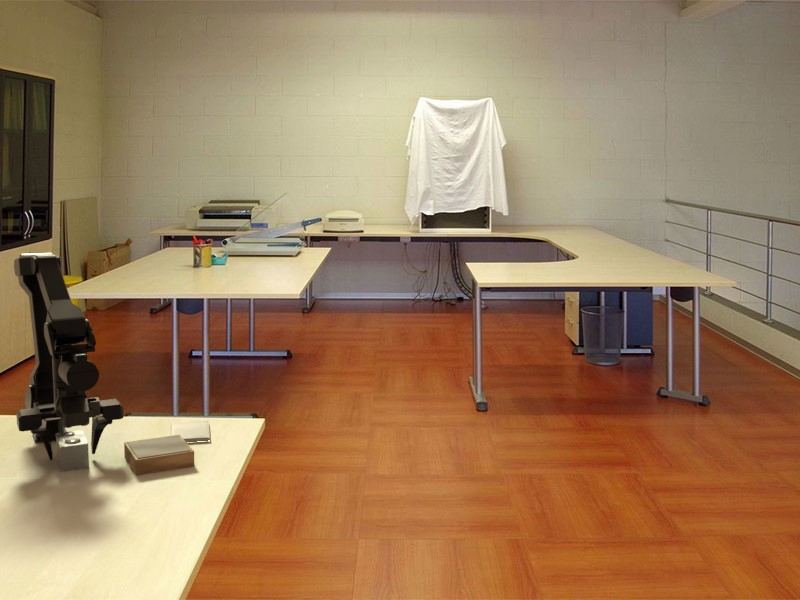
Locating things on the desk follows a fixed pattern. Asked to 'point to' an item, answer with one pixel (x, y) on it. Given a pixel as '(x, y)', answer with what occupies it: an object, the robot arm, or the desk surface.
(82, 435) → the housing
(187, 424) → the hard drive
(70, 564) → the desk surface
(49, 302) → the robot arm
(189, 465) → the stand
